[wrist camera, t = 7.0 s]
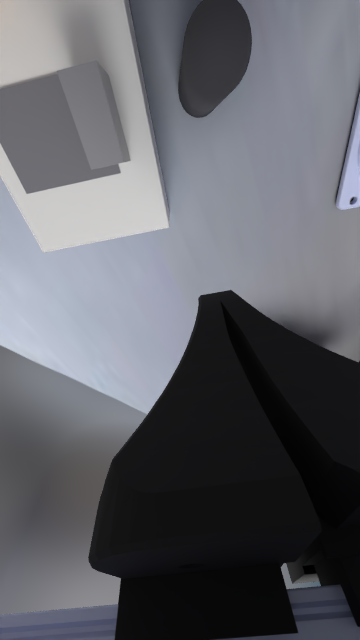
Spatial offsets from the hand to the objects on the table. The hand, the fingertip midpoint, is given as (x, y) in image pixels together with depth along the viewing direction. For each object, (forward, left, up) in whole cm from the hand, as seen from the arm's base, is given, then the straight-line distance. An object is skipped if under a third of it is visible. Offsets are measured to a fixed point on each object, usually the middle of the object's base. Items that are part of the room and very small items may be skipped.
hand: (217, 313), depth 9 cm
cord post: (-1, -8, -10) cm, 13 cm away
